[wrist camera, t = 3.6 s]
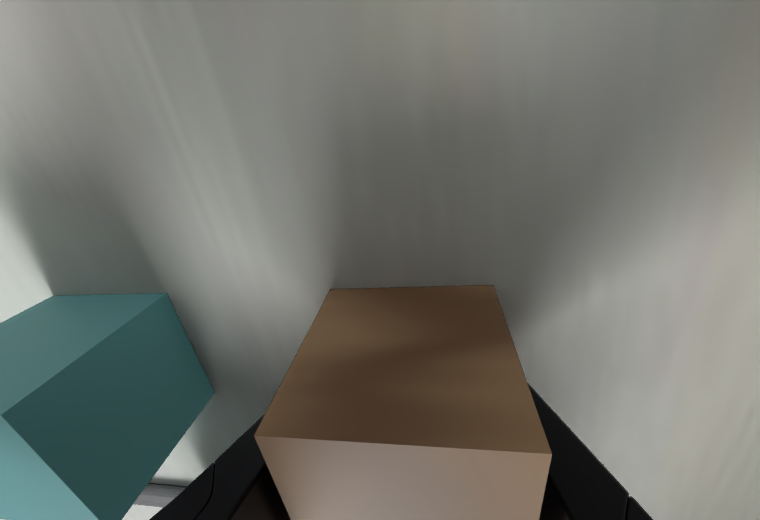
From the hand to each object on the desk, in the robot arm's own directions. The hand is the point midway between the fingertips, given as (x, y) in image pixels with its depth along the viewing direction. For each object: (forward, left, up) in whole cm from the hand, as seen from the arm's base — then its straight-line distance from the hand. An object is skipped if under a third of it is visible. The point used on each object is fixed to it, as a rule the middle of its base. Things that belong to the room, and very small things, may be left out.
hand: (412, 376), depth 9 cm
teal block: (+10, 0, -1) cm, 10 cm away
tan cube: (0, 0, -1) cm, 1 cm away
